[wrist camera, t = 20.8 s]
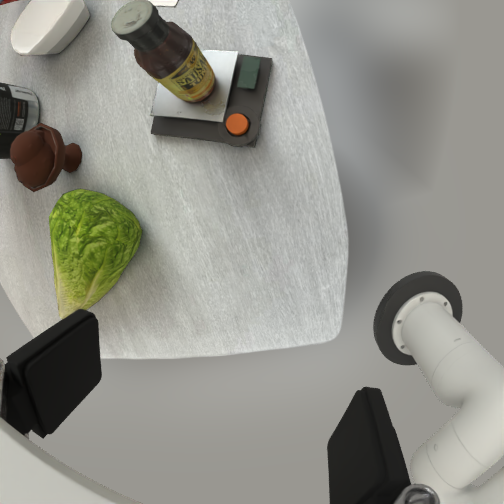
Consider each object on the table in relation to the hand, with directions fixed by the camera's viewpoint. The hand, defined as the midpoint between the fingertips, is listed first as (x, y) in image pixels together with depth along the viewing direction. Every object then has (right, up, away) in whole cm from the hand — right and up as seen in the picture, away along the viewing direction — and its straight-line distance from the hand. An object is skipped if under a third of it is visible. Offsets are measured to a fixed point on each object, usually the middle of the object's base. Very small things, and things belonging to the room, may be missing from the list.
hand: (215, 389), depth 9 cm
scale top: (-5, +28, +27) cm, 39 cm away
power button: (-1, +22, +29) cm, 36 cm away
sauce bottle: (-6, +28, +27) cm, 39 cm away
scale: (-5, +28, +30) cm, 41 cm away
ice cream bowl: (-31, +22, +35) cm, 52 cm away
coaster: (-14, +52, +26) cm, 59 cm away
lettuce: (-26, +4, +39) cm, 47 cm away
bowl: (-38, +52, +29) cm, 70 cm away
